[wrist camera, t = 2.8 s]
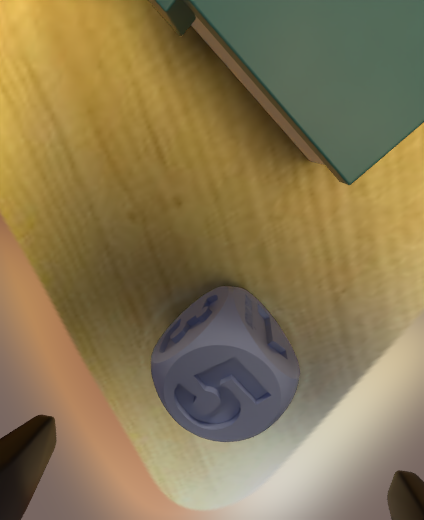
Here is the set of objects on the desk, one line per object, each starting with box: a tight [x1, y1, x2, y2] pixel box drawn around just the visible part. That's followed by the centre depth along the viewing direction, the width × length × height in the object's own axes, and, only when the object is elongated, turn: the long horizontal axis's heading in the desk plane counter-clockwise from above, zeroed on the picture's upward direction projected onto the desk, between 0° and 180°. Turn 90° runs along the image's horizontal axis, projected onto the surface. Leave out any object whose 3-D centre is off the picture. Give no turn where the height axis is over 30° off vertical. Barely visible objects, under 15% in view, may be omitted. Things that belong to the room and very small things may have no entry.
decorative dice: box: [151, 286, 300, 442], centre depth 13 cm, size 4×4×4 cm
